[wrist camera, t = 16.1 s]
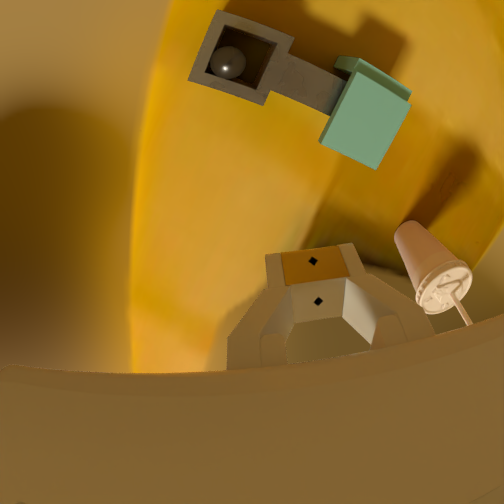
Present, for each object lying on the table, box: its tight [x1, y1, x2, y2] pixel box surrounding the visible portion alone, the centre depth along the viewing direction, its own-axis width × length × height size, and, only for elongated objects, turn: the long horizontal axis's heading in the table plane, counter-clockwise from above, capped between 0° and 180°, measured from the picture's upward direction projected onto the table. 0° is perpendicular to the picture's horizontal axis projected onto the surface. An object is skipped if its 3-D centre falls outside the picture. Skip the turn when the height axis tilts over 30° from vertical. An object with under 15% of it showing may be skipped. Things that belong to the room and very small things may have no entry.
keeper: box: [318, 55, 412, 170], centre depth 21 cm, size 5×7×5 cm
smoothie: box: [394, 220, 473, 326], centre depth 27 cm, size 6×6×14 cm
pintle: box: [210, 46, 246, 79], centre depth 19 cm, size 2×2×6 cm
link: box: [188, 10, 347, 116], centre depth 21 cm, size 15×6×4 cm, turn 68°
